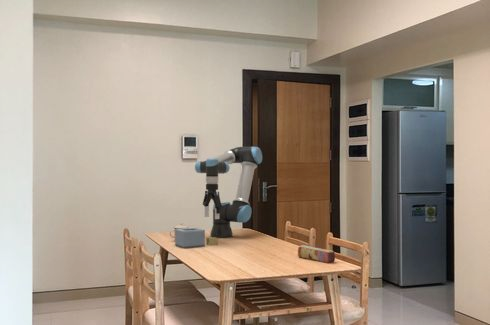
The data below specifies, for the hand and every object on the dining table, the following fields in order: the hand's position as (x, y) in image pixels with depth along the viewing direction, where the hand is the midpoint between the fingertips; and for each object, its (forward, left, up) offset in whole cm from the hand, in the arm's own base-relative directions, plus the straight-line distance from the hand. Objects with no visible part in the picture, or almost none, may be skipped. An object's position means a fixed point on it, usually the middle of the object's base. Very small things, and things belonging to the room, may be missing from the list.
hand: (211, 217), depth 316 cm
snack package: (-25, +70, -17) cm, 76 cm away
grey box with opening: (+14, -2, -16) cm, 22 cm away
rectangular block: (0, 0, -17) cm, 17 cm away
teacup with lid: (+12, -22, -17) cm, 30 cm away
